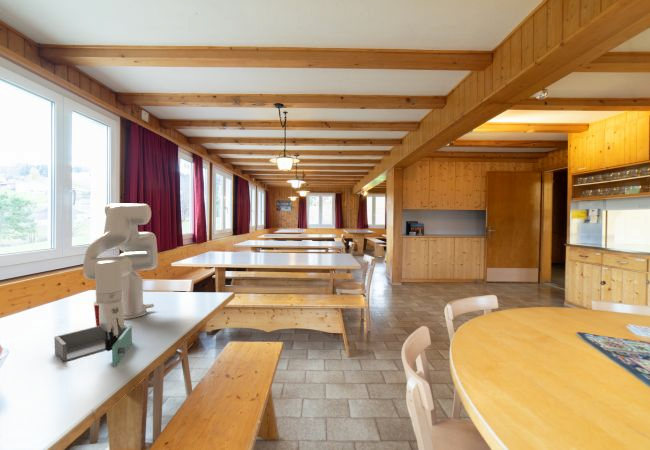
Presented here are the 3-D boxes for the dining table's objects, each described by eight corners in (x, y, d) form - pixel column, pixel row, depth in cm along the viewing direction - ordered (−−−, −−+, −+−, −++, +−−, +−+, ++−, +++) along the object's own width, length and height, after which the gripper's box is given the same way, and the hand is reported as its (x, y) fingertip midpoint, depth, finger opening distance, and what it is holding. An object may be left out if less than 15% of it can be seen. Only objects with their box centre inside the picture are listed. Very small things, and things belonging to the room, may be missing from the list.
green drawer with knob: (129, 342, 119) (128, 325, 119) (137, 341, 120) (136, 324, 120) (112, 366, 100) (111, 346, 100) (122, 365, 101) (121, 345, 100)
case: (118, 335, 127) (117, 321, 127) (129, 342, 119) (128, 327, 119) (55, 352, 111) (54, 336, 111) (63, 362, 104) (62, 344, 104)
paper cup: (120, 329, 133) (119, 297, 133) (102, 336, 126) (101, 302, 125) (107, 328, 136) (106, 296, 135) (89, 334, 128) (88, 301, 128)
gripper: (130, 297, 103) (132, 351, 104) (114, 290, 112) (116, 340, 113) (103, 303, 97) (105, 359, 98) (89, 295, 107) (91, 347, 107)
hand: (111, 349), depth 106 cm, fingers closed
